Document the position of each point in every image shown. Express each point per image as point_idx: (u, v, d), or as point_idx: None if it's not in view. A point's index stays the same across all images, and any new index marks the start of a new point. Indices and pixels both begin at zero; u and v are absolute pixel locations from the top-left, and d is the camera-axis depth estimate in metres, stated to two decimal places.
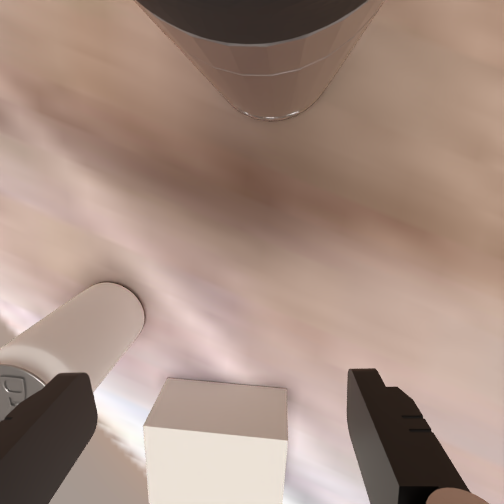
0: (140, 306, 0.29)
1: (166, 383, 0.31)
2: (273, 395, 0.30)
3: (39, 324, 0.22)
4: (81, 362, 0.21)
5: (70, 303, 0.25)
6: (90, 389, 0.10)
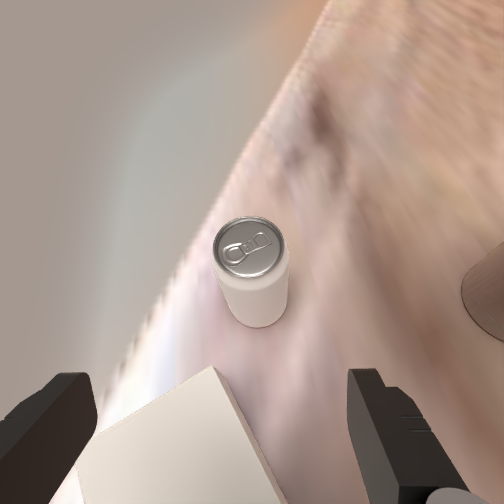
0: (281, 315, 0.33)
1: (222, 376, 0.31)
2: (283, 495, 0.26)
3: None
4: (284, 277, 0.26)
5: None
6: (90, 389, 0.10)
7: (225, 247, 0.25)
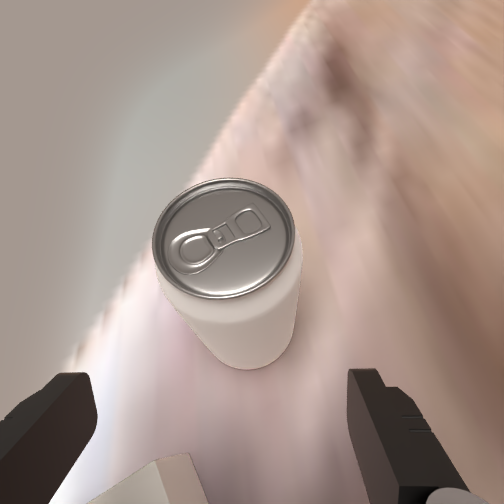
0: (284, 349, 0.21)
1: (186, 456, 0.18)
2: None
3: None
4: (293, 295, 0.13)
5: None
6: (90, 389, 0.10)
7: (177, 235, 0.13)
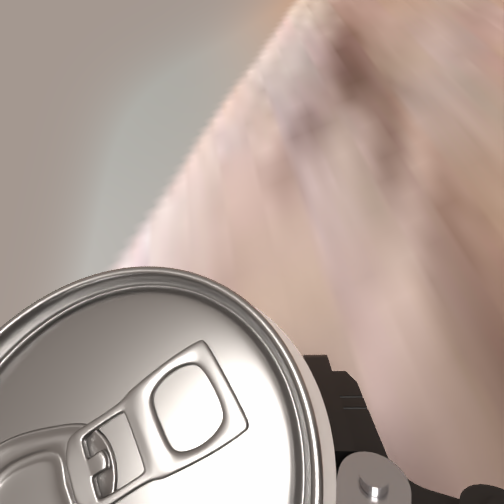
0: None
1: None
2: None
3: None
4: None
5: None
6: None
7: None
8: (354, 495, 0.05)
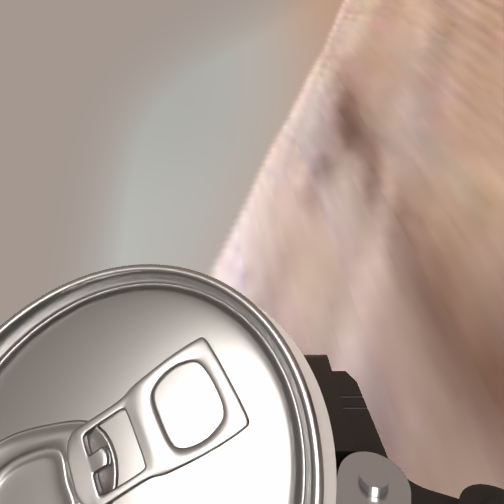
0: None
1: None
2: None
3: None
4: None
5: None
6: None
7: None
8: (354, 495, 0.05)
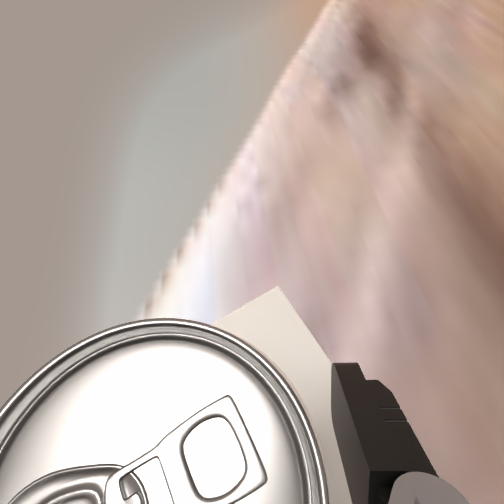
0: None
1: None
2: None
3: None
4: None
5: None
6: None
7: (27, 486, 0.05)
8: None
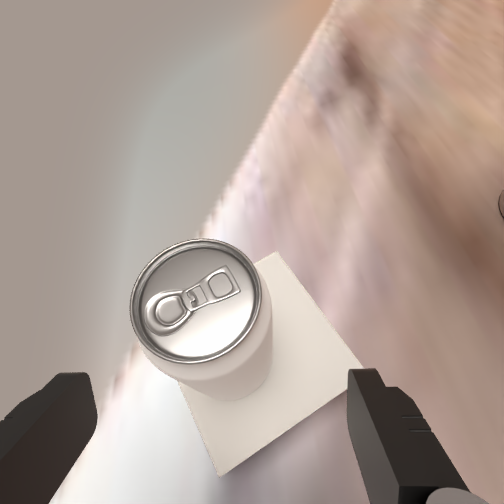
0: (262, 382, 0.22)
1: None
2: None
3: None
4: (261, 351, 0.14)
5: None
6: (90, 389, 0.10)
7: (154, 295, 0.14)
8: None
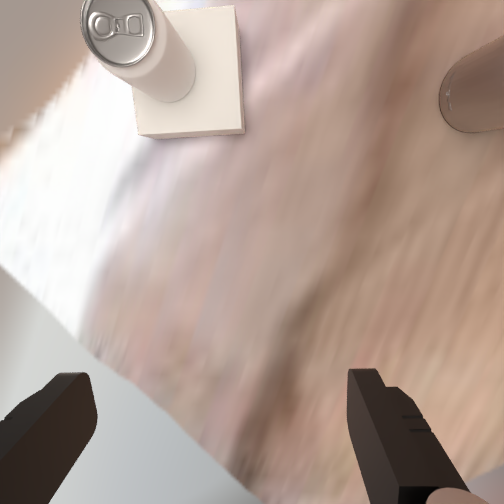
0: (177, 99, 0.35)
1: (238, 28, 0.38)
2: None
3: (173, 31, 0.27)
4: (152, 76, 0.26)
5: (184, 46, 0.30)
6: (90, 389, 0.10)
7: (96, 11, 0.23)
8: None
